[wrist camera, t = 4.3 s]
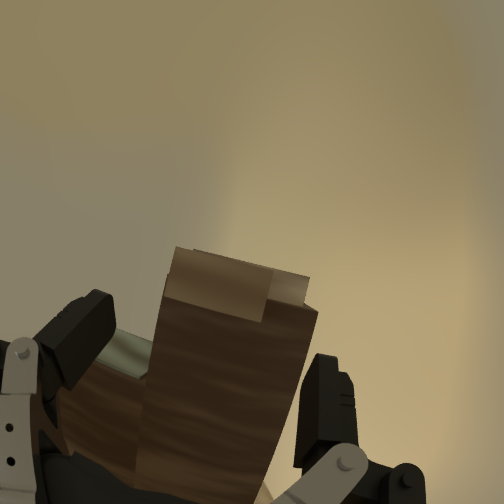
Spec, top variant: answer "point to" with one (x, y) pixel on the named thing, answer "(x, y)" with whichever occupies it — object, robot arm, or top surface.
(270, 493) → the top surface
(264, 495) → the top surface
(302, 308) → the two-tone wooden block
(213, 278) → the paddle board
